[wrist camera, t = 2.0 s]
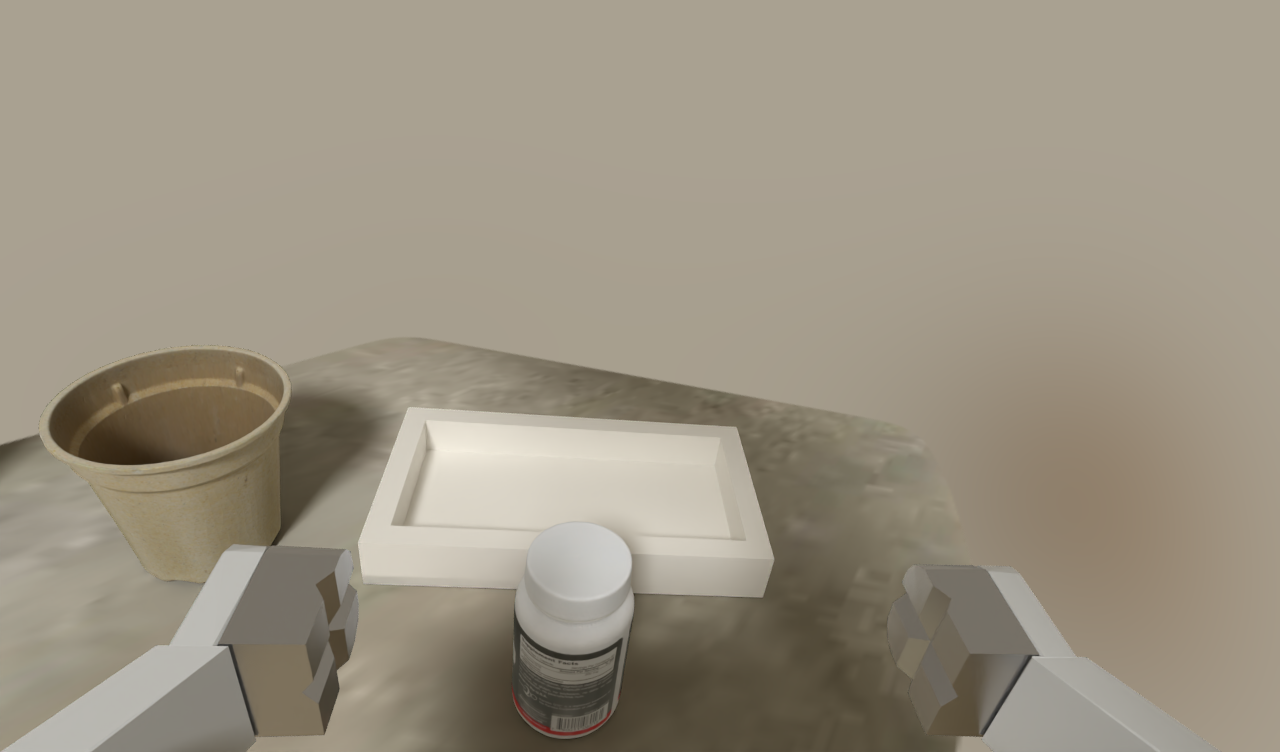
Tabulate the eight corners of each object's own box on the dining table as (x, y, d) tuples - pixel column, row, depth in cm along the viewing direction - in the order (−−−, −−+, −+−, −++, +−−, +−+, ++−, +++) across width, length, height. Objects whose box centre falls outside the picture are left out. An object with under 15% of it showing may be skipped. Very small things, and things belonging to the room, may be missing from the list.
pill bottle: (547, 629, 34) (557, 496, 30) (637, 672, 33) (661, 540, 28) (489, 710, 30) (490, 572, 26) (587, 763, 29) (606, 627, 24)
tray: (363, 583, 35) (357, 542, 33) (411, 444, 44) (408, 407, 43) (762, 597, 37) (774, 559, 36) (728, 461, 46) (736, 427, 45)
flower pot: (210, 645, 31) (164, 497, 27) (48, 573, 33) (-21, 424, 29) (353, 511, 39) (335, 377, 34) (213, 459, 41) (180, 327, 36)
